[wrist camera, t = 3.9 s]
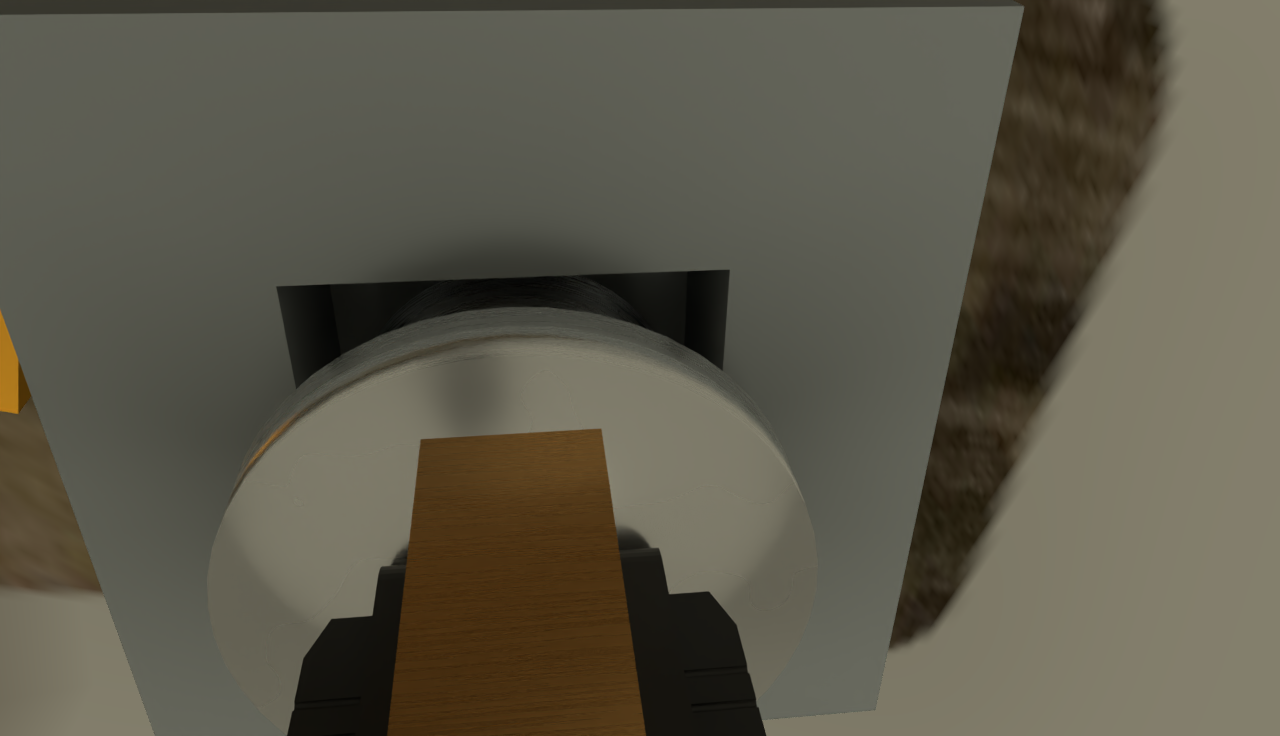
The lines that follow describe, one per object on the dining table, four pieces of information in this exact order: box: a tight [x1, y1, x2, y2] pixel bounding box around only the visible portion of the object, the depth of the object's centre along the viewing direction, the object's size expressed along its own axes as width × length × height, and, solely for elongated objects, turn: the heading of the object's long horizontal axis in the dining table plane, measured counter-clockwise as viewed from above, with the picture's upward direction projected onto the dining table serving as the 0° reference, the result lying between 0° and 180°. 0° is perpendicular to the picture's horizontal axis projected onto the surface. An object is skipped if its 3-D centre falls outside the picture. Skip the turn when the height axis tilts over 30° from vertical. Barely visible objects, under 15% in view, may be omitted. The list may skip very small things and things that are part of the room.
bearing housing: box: [0, 0, 1024, 736], centre depth 17 cm, size 12×12×8 cm
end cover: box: [207, 275, 818, 736], centre depth 11 cm, size 7×7×9 cm
